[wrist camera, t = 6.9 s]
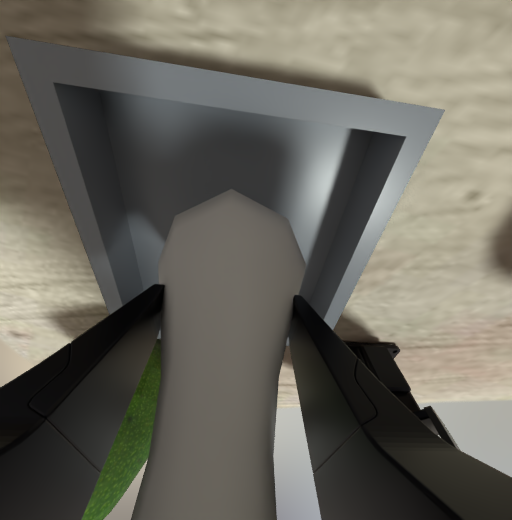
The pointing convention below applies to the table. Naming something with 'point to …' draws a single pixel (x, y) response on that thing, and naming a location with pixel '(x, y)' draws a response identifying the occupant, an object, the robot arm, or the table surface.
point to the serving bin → (217, 160)
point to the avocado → (128, 442)
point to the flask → (220, 361)
